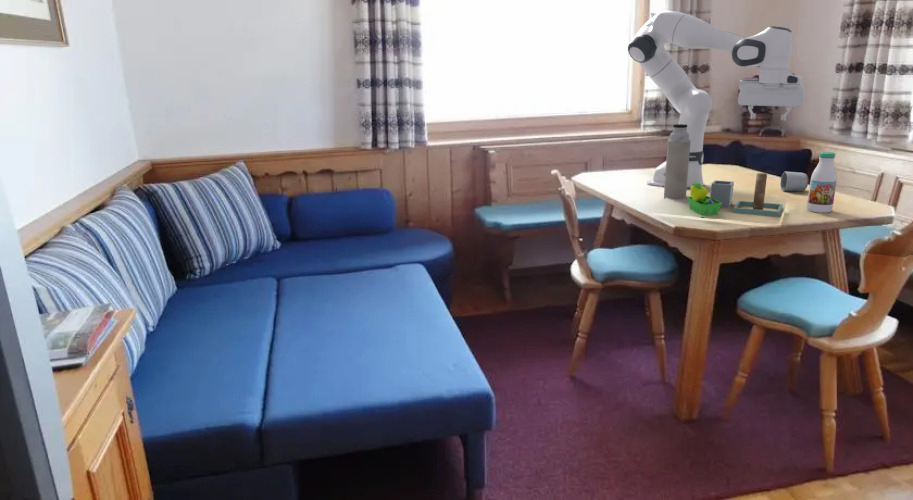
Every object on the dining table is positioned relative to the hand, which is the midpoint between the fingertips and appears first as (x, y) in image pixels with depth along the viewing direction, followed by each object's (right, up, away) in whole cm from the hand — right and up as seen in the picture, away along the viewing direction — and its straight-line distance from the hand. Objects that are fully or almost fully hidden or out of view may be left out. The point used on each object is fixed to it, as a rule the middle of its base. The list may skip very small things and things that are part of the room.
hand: (767, 119), depth 215 cm
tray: (-3, -32, +1) cm, 32 cm away
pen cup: (-12, -29, +10) cm, 33 cm away
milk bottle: (+19, -31, +2) cm, 36 cm away
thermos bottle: (-23, -25, +25) cm, 42 cm away
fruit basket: (-22, -32, +2) cm, 39 cm away
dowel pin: (-3, -31, +1) cm, 31 cm away
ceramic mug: (+26, -21, +34) cm, 47 cm away
